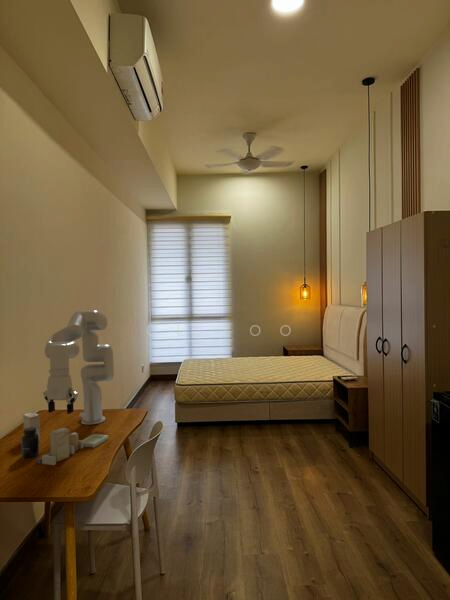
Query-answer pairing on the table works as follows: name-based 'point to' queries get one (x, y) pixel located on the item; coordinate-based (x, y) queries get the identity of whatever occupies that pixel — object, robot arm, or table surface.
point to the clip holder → (52, 459)
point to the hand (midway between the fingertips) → (60, 412)
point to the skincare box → (60, 443)
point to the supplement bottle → (30, 443)
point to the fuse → (74, 441)
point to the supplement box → (32, 422)
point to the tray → (94, 440)
